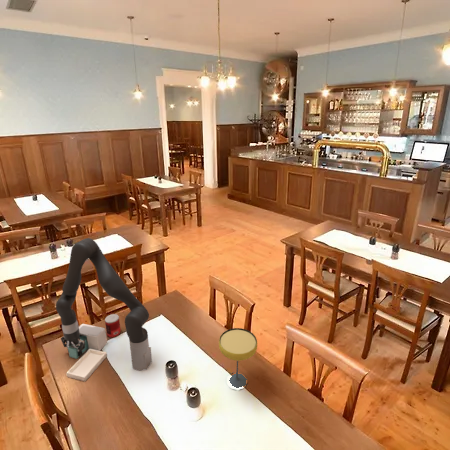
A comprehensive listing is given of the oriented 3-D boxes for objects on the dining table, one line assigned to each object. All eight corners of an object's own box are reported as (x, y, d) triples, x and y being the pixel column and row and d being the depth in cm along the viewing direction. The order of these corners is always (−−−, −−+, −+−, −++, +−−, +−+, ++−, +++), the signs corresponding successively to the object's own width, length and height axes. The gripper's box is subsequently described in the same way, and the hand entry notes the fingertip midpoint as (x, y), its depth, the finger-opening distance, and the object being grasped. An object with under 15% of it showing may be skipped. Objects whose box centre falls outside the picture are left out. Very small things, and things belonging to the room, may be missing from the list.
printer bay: (107, 342, 179) (105, 327, 175) (99, 351, 172) (96, 336, 169) (85, 337, 183) (82, 323, 179) (76, 346, 176) (73, 331, 172)
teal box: (93, 342, 179) (92, 333, 176) (77, 358, 167) (75, 349, 165) (86, 340, 180) (85, 331, 178) (69, 356, 168) (67, 346, 166)
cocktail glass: (241, 403, 142) (243, 360, 134) (211, 383, 152) (210, 342, 144) (262, 378, 156) (264, 337, 147) (232, 361, 166) (233, 322, 157)
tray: (107, 356, 169) (106, 352, 168) (85, 381, 153) (84, 377, 152) (90, 352, 172) (89, 348, 171) (67, 376, 156) (66, 372, 155)
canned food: (122, 329, 190) (120, 314, 186) (117, 338, 182) (115, 322, 179) (110, 328, 190) (108, 313, 187) (104, 337, 183) (102, 321, 179)
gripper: (87, 326, 165) (91, 352, 171) (64, 321, 168) (69, 346, 174) (77, 335, 158) (82, 362, 164) (53, 330, 162) (59, 356, 168)
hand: (75, 354), depth 169 cm, fingers closed on teal box, 5 cm apart
